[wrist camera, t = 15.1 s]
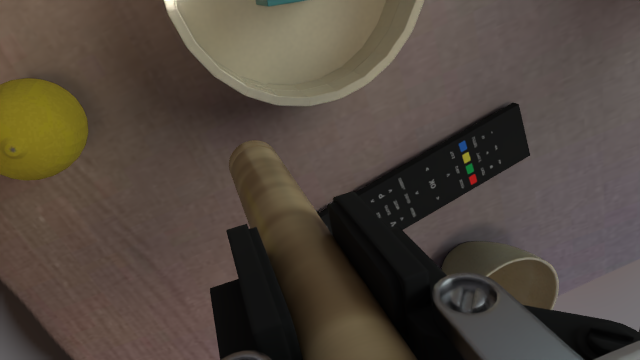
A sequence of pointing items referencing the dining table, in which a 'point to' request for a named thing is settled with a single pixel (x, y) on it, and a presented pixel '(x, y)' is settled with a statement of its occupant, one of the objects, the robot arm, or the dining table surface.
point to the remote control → (446, 170)
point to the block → (275, 2)
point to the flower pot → (507, 271)
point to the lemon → (39, 129)
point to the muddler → (311, 266)
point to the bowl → (294, 44)
